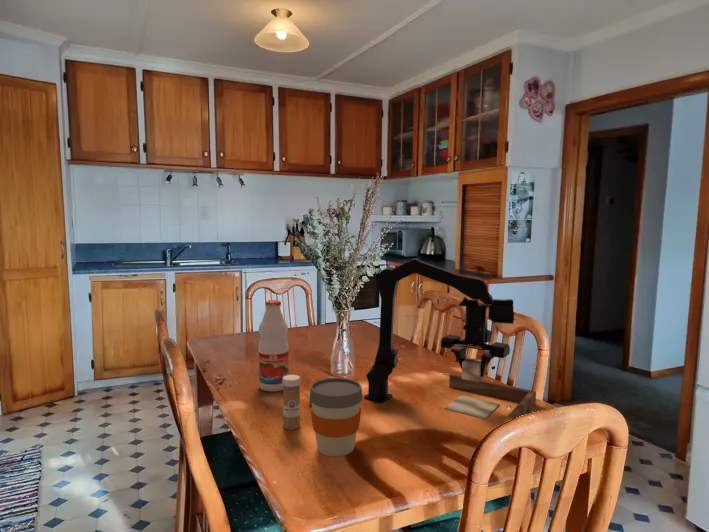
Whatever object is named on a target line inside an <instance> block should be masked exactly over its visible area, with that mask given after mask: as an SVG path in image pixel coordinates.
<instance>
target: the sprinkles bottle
mask: <svg viewBox="0 0 709 532" xmlns="http://www.w3.org/2000/svg"><path fill="white" fill-rule="evenodd" d="M300 386H301V377H300V375H297V374H289V375H286V376H284V377H283V390H282V391H283V393H282V395H283V396H282V410H283V411H282V414H283V416H282V417H283V424H282V428H284V429H286V430H290V431H291V430H293V431H294V430H298V429H299V428H300V427H301V394H300V393H301V390H300Z"/></svg>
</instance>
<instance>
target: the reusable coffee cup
mask: <svg viewBox="0 0 709 532" xmlns="http://www.w3.org/2000/svg"><path fill="white" fill-rule="evenodd" d="M309 390H310V391H309V396H310V401H311V402H310V401H309V402H310V403H311V408H310V415H311V424H312V429H313V431H314V433H315V440H316V448H317V451H318V452H319V453H320V454H322V455H325V456H328V457H329V456H330V457H341V456H347V455H349V454H350V453H352V452H353V451H354V449H355V446H356V440H357V432H358V430H359V427H360V421H361V414H362V408H361V403H362V401H363V391H362V385H361V383H359V382H358V381H356V380H353V379H350V378H346V377H345V378H344V377H328V378H322V379H319V380H317V381H315V382H313V383H312V384H311V385H310V389H309Z"/></svg>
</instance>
